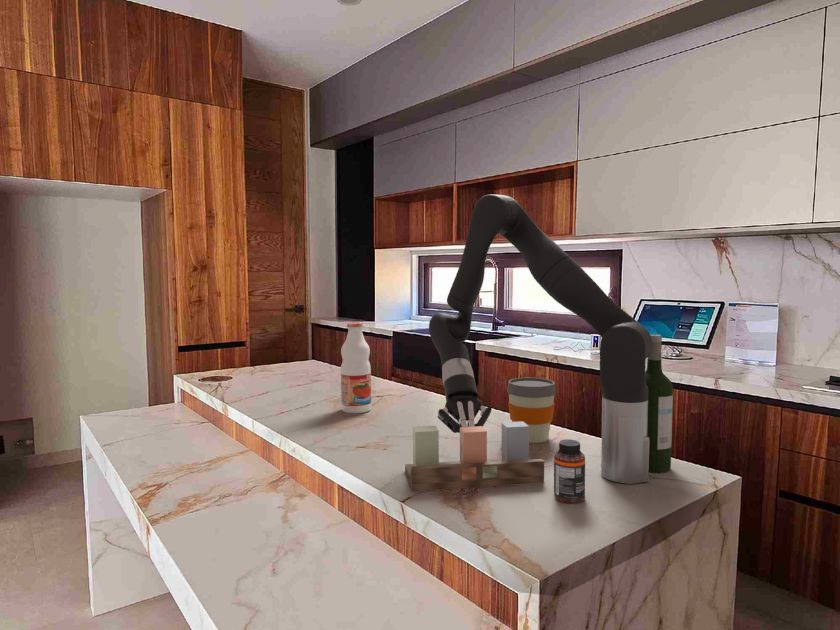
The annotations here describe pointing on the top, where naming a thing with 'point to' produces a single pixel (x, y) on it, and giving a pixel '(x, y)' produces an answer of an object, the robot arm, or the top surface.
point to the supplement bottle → (569, 472)
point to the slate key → (515, 441)
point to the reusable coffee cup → (532, 405)
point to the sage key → (425, 446)
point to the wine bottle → (658, 411)
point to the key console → (474, 474)
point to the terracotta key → (473, 445)
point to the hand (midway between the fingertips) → (470, 447)
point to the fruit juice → (355, 371)
